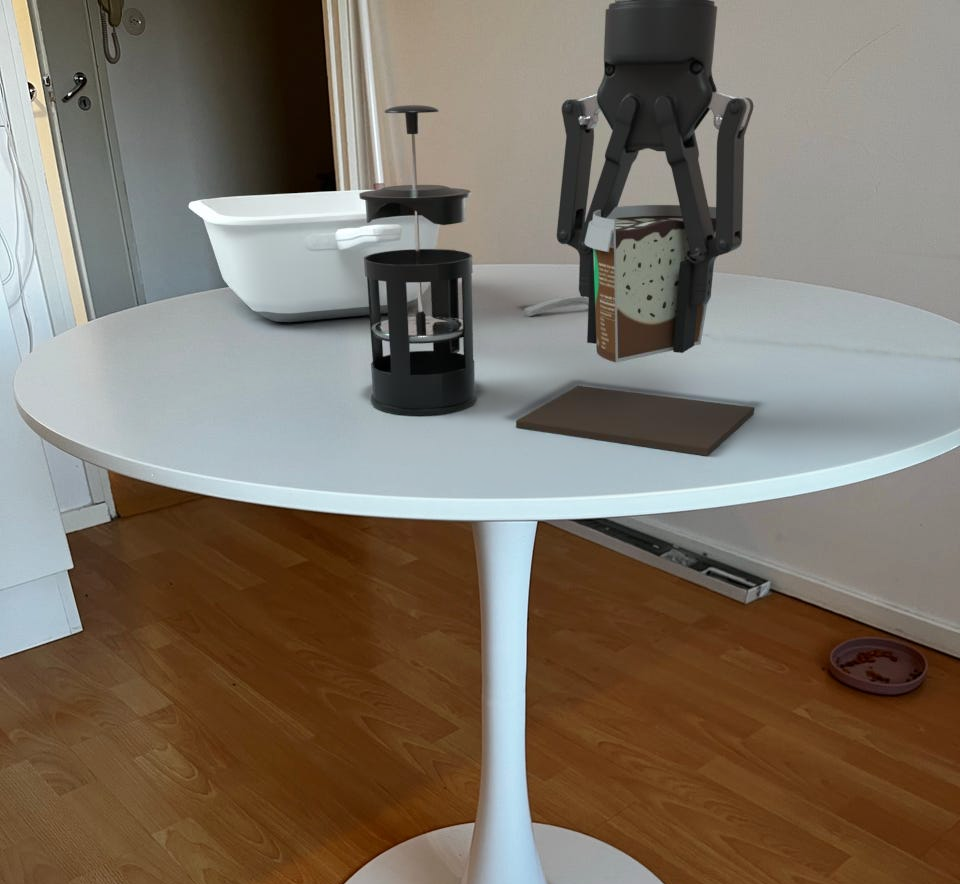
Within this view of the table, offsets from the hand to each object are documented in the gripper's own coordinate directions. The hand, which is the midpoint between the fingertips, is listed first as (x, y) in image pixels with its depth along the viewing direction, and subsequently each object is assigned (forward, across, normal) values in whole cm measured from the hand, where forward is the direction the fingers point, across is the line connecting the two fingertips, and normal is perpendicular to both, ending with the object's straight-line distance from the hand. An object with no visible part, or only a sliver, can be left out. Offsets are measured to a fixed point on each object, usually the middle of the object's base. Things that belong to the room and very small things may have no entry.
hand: (640, 343), depth 79 cm
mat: (+6, 0, 0) cm, 6 cm away
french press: (+6, -19, -2) cm, 20 cm away
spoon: (+6, -24, +39) cm, 46 cm away
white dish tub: (+6, -46, +23) cm, 52 cm away
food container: (0, -1, 0) cm, 1 cm away
